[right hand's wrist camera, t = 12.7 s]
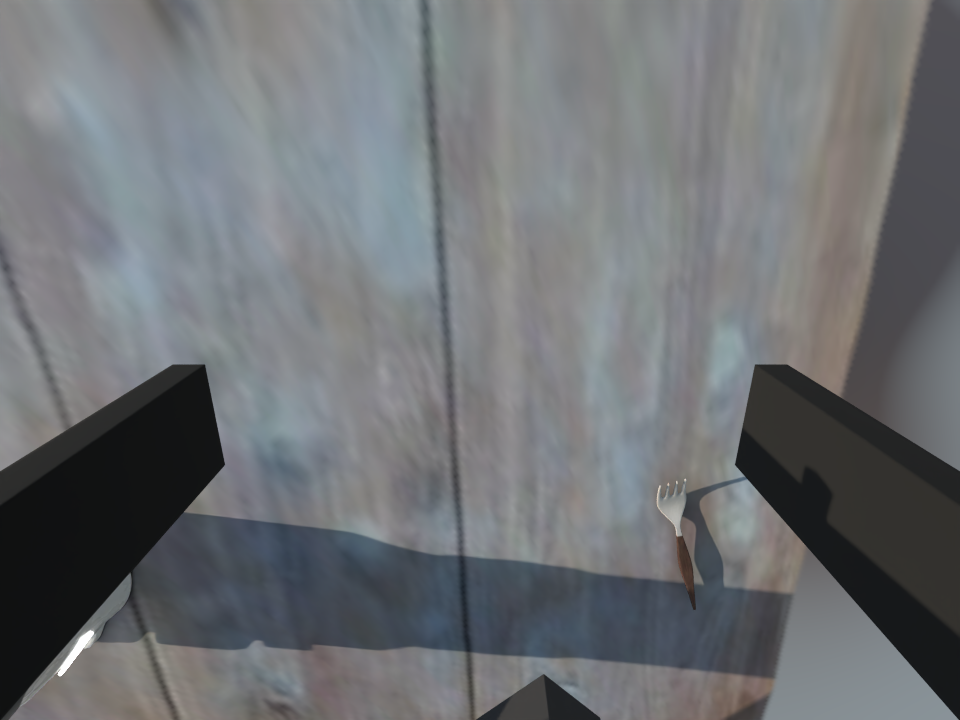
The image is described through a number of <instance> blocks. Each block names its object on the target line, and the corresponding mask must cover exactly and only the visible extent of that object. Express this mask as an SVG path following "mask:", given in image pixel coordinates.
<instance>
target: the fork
mask: <svg viewBox="0 0 960 720" xmlns="http://www.w3.org/2000/svg"><path fill="white" fill-rule="evenodd" d="M677 488H678V482H677V481H676V484H675V487H674V492H673V494H672V495H670V494H669V483H668V485H667V489H666V493H665V496H664V497H662V496H661V485H659V490H658V495H657V506H658V508H659V510H660V511H661V512H662V513H663V514H664V515H665V516H666V517H667V518H668V519H669V520H670V521H671V522H672V523H673V524H674V526H675V528H676V537H677V554H678V563H679V568H680V571H681V574H682V577H683V579H684V582H685V585H686V588H687V591H688V594H689V597H690V600H691V603H692V607H693V609H694V610H696V605H695V594H694V580H693V568H692V563H691V559H690V556H689V553H688V550H687V547H686V544H685V542H684V539H683V536H682V533H681V529H680V522H681V518H682V515H683V512H684V508H685V505H686V479H685V480H684V483H683V486H682V490H681V493H678V491H677Z"/></svg>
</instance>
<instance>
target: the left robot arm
mask: <svg viewBox="0 0 960 720" xmlns="http://www.w3.org/2000/svg"><path fill="white" fill-rule="evenodd" d="M131 584H132V579H131V572H130V574H129V575H128V576H127V577H126V578H125V579H124V580H123V582H122V583H121V584H120V585H119V586H118V587H117V588H116V590H115V591H114V592H113V593H112V594H111V595H110V596H109V597H108V599H107V600H106V601H105V602H104V603H103V604H102V605H101V607H100V608H99V609H98V610H97V611H96V612H95V613H94V615H93V616H92V617H91V618H90V619H89V620H88V621H87V623H86V624H85V625H84V626H83V627H82V628H81V629H80V630H79V632H78V633H77V634H76V635H75V636H74V637H73V638H72V640H71V641H70V642H69V643H68V644H67V645H66V646H65V648H64V649H63V650H62V651H61V652H60V653H59V654H58V656H57V657H56V658H55V659H54V660H53V661H52V662H51V664H50V665H49V666H48V667H47V668H46V669H45V670H44V671H43V673H42V674H41V675H40V676H39V677H38V678H37V679H36V681H35V682H34V683H33V684H32V685H31V686H30V687H29V689H28V690H27V691H26V692H25V693H24V694H23V695H22V697H21V698H20V699H19V700H18V701H17V702H16V703H15V704H14V706H13V707H12V708H11V709H10V710H9V711H8V712H7V714H6V715H5V716H4V717H3V718H2V719H1V720H9V719H10V717H11V716H12V715H13V714H14V713H15V712H16V710H17V709H18V708H19V707H20V706H22V705H24V704H25V703H26V702H28V701H29V700H30V699H31V698H32V697H33V696H34V695H35V694H36V693H37V692H38V691H39V690H40V689H41V688H42V687H43V686H44V685H45V684H46V683H47V682H48V681H49V680H50V679H51V678H52V677H53V676H54V675H55V674H56V673H57V672H58V671H59V670H60V669H61V668H62V667H63V666H64V667H63V668H62V669H61V671H60V672H59V674H58V675H60V676H61V675H62V674H63V673H64V672H65V670H66V669H67V668H68V667H69V666H70V664H71V663H72V662H73V660H74V659H75V658H76V656H77V655H78V653H79V652H80V651H81V649H87V648H89V647H91V646H92V645H93V644H94V643H95V642H96V641H97V640H98V639H99V637H100V636H101V634H102V631H103V628H104V625H105V623H106V622H107V621H108V620H109V619H110V618H111V617H113V616H114V615H115V614H116V613H117V612H118V611H120V610H121V608H122V607H123V606H124V605H125V603H126V602H127V600H128V598H129V595H130V592H131Z"/></svg>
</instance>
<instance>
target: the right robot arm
mask: <svg viewBox="0 0 960 720" xmlns="http://www.w3.org/2000/svg"><path fill="white" fill-rule="evenodd" d="M224 465H225V463H224V458H223V453H222V448H221V443H220V438H219V433H218V428H217V423H216V418H215V413H214V408H213V403H212V398H211V393H210V388H209V383H208V378H207V373H206V368H205V365H171V366H170V367H168V368H167V369H165V370H163V371H162V372H160V373H158V374H157V375H155V376H154V377H152V378H150V379H149V380H147V381H145V382H144V383H142V384H141V385H139V386H137V387H136V388H134V389H133V390H131V391H129V392H128V393H126V394H124V395H123V396H121V397H120V398H118V399H116V400H115V401H113V402H112V403H110V404H108V405H107V406H105V407H103V408H102V409H100V410H99V411H97V412H95V413H94V414H92V415H91V416H89V417H87V418H86V419H84V420H82V421H81V422H79V423H78V424H76V425H74V426H73V427H71V428H70V429H68V430H66V431H65V432H63V433H61V434H60V435H58V436H57V437H55V438H53V439H52V440H50V441H49V442H47V443H45V444H44V445H42V446H40V447H39V448H37V449H36V450H34V451H32V452H31V453H29V454H28V455H26V456H24V457H23V458H21V459H19V460H18V461H16V462H15V463H13V464H11V465H10V466H8V467H7V468H5V469H3V470H2V471H0V720H1V719H2V718H3V717H4V716H5V715H6V714H7V712H8V711H9V710H10V709H11V708H12V707H13V706H14V704H15V703H16V702H17V701H18V700H19V699H20V698H21V697H22V695H23V694H24V693H25V692H26V691H27V690H28V689H29V687H30V686H31V685H32V684H33V683H34V682H35V681H36V679H37V678H38V677H39V676H40V675H41V674H42V673H43V671H44V670H45V669H46V668H47V667H48V666H49V665H50V664H51V662H52V661H53V660H54V659H55V658H56V657H57V656H58V654H59V653H60V652H61V651H62V650H63V649H64V648H65V646H66V645H67V644H68V643H69V642H70V641H71V640H72V638H73V637H74V636H75V635H76V634H77V633H78V632H79V630H80V629H81V628H82V627H83V626H84V625H85V624H86V623H87V621H88V620H89V619H90V618H91V617H92V616H93V615H94V613H95V612H96V611H97V610H98V609H99V608H100V607H101V605H102V604H103V603H104V602H105V601H106V600H107V599H108V597H109V596H110V595H111V594H112V593H113V592H114V591H115V590H116V588H117V587H118V586H119V585H120V584H121V583H122V582H123V580H124V579H125V578H126V577H127V576H128V575H129V574H130V572H131V571H132V570H133V569H134V568H135V567H136V566H137V564H138V563H139V562H140V561H141V560H142V559H143V558H144V556H145V555H146V554H147V553H148V552H149V551H150V550H151V549H152V547H153V546H154V545H155V544H156V543H157V542H158V541H159V539H160V538H161V537H162V536H163V535H164V534H165V533H166V531H167V530H168V529H169V528H170V527H171V526H172V525H173V523H174V522H175V521H176V520H177V519H178V518H179V517H180V515H181V514H182V513H183V512H184V511H185V510H186V509H187V508H188V506H189V505H190V504H191V503H192V502H193V501H194V500H195V498H196V497H197V496H198V495H199V494H200V493H201V492H202V490H203V489H204V488H205V487H206V486H207V485H208V484H209V482H210V481H211V480H212V479H213V478H214V477H215V476H216V475H217V473H218V472H219V471H220V470H221V469H222V468H223V467H224ZM735 465H736V467H737V468H738V469H739V470H740V471H741V472H742V473H743V475H744V476H745V477H746V478H747V479H748V480H749V481H750V482H751V484H752V485H753V486H754V487H755V488H756V489H757V490H758V492H759V493H760V494H761V495H762V496H763V497H764V498H765V500H766V501H767V502H768V503H769V504H770V505H771V506H772V508H773V509H774V510H775V511H776V512H777V513H778V514H779V515H780V517H781V518H782V519H783V520H784V521H785V522H786V523H787V525H788V526H789V527H790V528H791V529H792V530H793V531H794V533H795V534H796V535H797V536H798V537H799V538H800V539H801V541H802V542H803V543H804V544H805V545H806V546H807V547H808V549H809V550H810V551H811V552H812V553H813V554H814V555H815V556H816V558H817V559H818V560H819V561H820V562H821V563H822V564H823V566H824V567H825V568H826V569H827V570H828V571H829V572H830V574H831V575H832V576H833V577H834V578H835V579H836V580H837V582H838V583H839V584H840V585H841V586H842V587H843V588H844V590H845V591H846V592H847V593H848V594H849V595H850V596H851V597H852V599H853V600H854V601H855V602H856V603H857V604H858V605H859V607H860V608H861V609H862V610H863V611H864V612H865V613H866V614H867V616H868V617H869V618H870V619H871V620H872V621H873V623H874V624H875V625H876V626H877V627H878V628H879V629H880V630H881V632H882V633H883V634H884V635H885V636H886V637H887V638H888V639H889V641H890V642H891V643H892V644H893V645H894V646H895V647H896V649H897V650H898V651H899V652H900V653H901V654H902V656H903V657H904V658H905V659H906V660H907V661H908V662H909V664H910V665H911V666H912V667H913V668H914V669H915V670H916V671H917V673H918V674H919V675H920V676H921V677H922V678H923V679H924V681H925V682H926V683H927V684H928V685H929V686H930V687H931V689H932V690H933V691H934V692H935V693H936V694H937V695H938V697H939V698H940V699H941V700H942V701H943V702H944V703H945V705H946V706H947V707H948V708H949V709H950V710H951V711H952V712H953V714H954V715H955V716H956V717H957V718H958V719H959V720H960V471H958V470H957V469H955V468H953V467H952V466H950V465H949V464H947V463H945V462H944V461H942V460H941V459H939V458H937V457H936V456H934V455H932V454H931V453H929V452H928V451H926V450H924V449H923V448H921V447H920V446H918V445H916V444H915V443H913V442H911V441H910V440H908V439H907V438H905V437H903V436H902V435H900V434H898V433H897V432H895V431H894V430H892V429H890V428H889V427H887V426H886V425H884V424H882V423H881V422H879V421H877V420H876V419H874V418H873V417H871V416H869V415H868V414H866V413H865V412H863V411H861V410H860V409H858V408H857V407H855V406H853V405H852V404H850V403H848V402H847V401H845V400H844V399H842V398H840V397H839V396H837V395H836V394H834V393H832V392H831V391H829V390H827V389H826V388H824V387H823V386H821V385H819V384H818V383H816V382H815V381H813V380H811V379H810V378H808V377H806V376H805V375H803V374H802V373H800V372H798V371H797V370H795V369H793V368H792V367H790V366H789V365H755V368H754V373H753V378H752V383H751V388H750V393H749V398H748V403H747V408H746V413H745V418H744V423H743V428H742V433H741V438H740V443H739V448H738V453H737V458H736V463H735Z"/></svg>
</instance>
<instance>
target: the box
mask: <svg viewBox="0 0 960 720" xmlns="http://www.w3.org/2000/svg"><path fill="white" fill-rule="evenodd" d="M476 720H600V717H598V716H597V715H596V714H594V713H593V712H592V711H591V710H589V709H588V708H587V707H585V706H584V705H583V704H582V703H580V702H579V701H578V700H576V699H575V698H574V697H573V696H571V695H570V694H569V693H567V692H566V691H565V690H564V689H562V688H561V687H560V686H558V685H557V684H556V683H555V682H553V681H552V680H551V679H549V678H548V677H547V676H545V675H544V674H543V675H542V676H540V677H539V678H537V679H536V680H534V681H533V682H531V683H530V684H528V685H527V686H525V687H524V688H522V689H521V690H519V691H518V692H517V693H515V694H514V695H512V696H511V697H509V698H508V699H506V700H505V701H503V702H502V703H500V704H499V705H497V706H496V707H494V708H493V709H491V710H490V711H488V712H487V713H485V714H484V715H482V716H481V717H479V718H478V719H476Z"/></svg>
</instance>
